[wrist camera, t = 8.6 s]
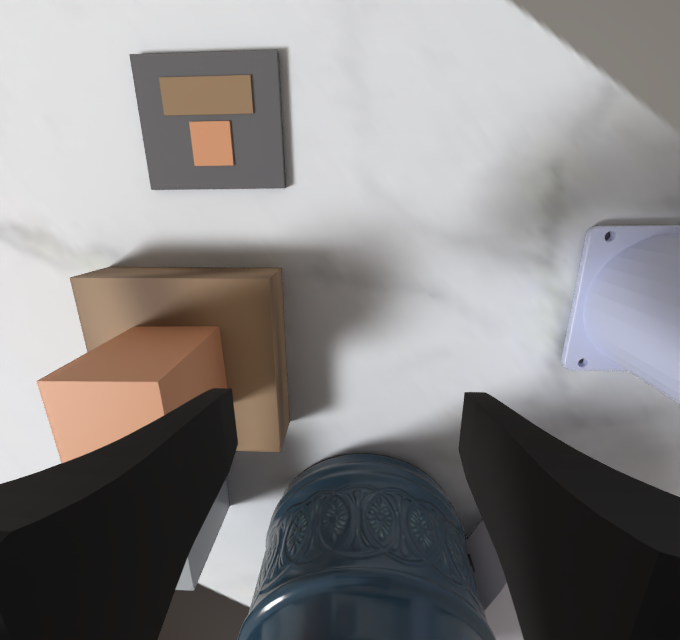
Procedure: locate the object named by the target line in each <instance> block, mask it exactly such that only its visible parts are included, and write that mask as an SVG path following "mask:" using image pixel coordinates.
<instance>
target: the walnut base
mask: <svg viewBox="0 0 680 640" xmlns="http://www.w3.org/2000/svg"><path fill="white" fill-rule="evenodd" d="M70 281H71V285H72V289H73V294H74V298H75V302H76V306H77V310H78V315H79V319H80V323H81V327H82V331H83V336H84V340H85V344H86V348H87V352H89V351H91V350H93V349H95V348H96V347H98V346H100V345H102V344H104V343H105V342H107V341H109V340H111V339H112V338H114V337H116V336H118V335H120V334H121V333H123V332H125V331H127V330H128V329H130V328H132V327H177V326H219V328H220V336H221V343H222V351H223V359H224V366H225V374H226V382H227V388H232V395H233V403H234V412H235V420H236V429H237V438H238V446H237V449H236V451H259V452H280V451H281V448H282V445H283V442H284V439H285V435H286V432H287V429H288V426H289V423H290V417H289V399H288V380H287V362H286V344H285V326H284V308H283V290H282V271H281V268H199V267H107V268H103V269H100V270H96V271H92V272H89V273H85V274H82V275H78V276H74V277H71V278H70Z"/></svg>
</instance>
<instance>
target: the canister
mask: <svg viewBox="0 0 680 640" xmlns="http://www.w3.org/2000/svg"><path fill="white" fill-rule="evenodd" d="M238 640H496V638H495V635H494V633H493V631H492V630H491V628H490V626H489V625H488V622H487V619H486V615H485V612H484V609H483V605H482V602H481V599H480V596H479V592H478V589H477V586H476V582H475V579H474V576H473V572H472V569H471V566H470V562H469V559H468V556H467V545H466V539H465V535H464V532H463V529H462V526H461V523H460V520H459V518H458V515H457V513H456V511H455V510H454V508H453V506H452V505H451V503H450V502H449V500H448V498H447V496H446V495H445V493H444V492H443V490H442V489H441V487H440V486H439V485H438V484H437V483H436V482H435V481H434V480H433V479H432V478H431V477H430V476H428V475H427V474H426V473H424V472H423V471H421V470H420V469H418V468H417V467H415V466H413V465H411V464H409V463H406V462H404V461H401V460H398V459H395V458H392V457H388V456H383V455H376V454H350V455H343V456H338V457H334V458H330V459H327V460H325V461H322V462H320V463H317V464H315V465H314V466H312V467H310V468H308V469H307V470H305V471H304V472H303V473H301V474H300V475H299V476H298V477H297V478H295V480H294V481H293V482H292V483H291V484H290V485H289V486H288V488H287V489H286V491H285V492H284V494H283V496H282V498H281V500H280V502H279V503H278V505H277V507H276V509H275V510H274V513H273V515H272V518H271V522H270V526H269V529H268V532H267V537H266V551H265V555H264V558H263V562H262V566H261V570H260V573H259V577H258V581H257V584H256V588H255V592H254V596H253V599H252V603H251V607H250V611H249V614H248V616H247V617H246V619H245V621H244V623H243V625H242V627H241V630H240V633H239V636H238Z"/></svg>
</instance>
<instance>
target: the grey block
mask: <svg viewBox="0 0 680 640" xmlns="http://www.w3.org/2000/svg"><path fill="white" fill-rule="evenodd" d="M229 506H230V504H229V496H228V488H227V481H226V479H225V481H224V483H223V485H222V487H221V489H220V491H219V494H218V496H217V498H216V500H215V502H214V504H213V506H212V508H211V510H210V512H209V514H208V516H207V518H206V520H205V522H204V524H203V526H202V528H201V530H200V532H199V534H198V536H197V538H196V540H195V542H194V544H193V546H192V549H191V551H190V553H189V555H188V558H187V560H186V563H185V566H184V568H183V571H182V573H181V576H180V579H179V581H178V584H177V586H176V589H175V590H194V589H195V587H196V584H197V582H198V580H199V577H200V575H201V573H202V570H203V568H204V565H205V563H206V561H207V558H208V556H209V554H210V551H211V549H212V547H213V544H214V542H215V540H216V537H217V535H218V532H219V530H220V528H221V525H222V523H223V521H224V518H225V516H226V514H227V511H228V509H229Z"/></svg>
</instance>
